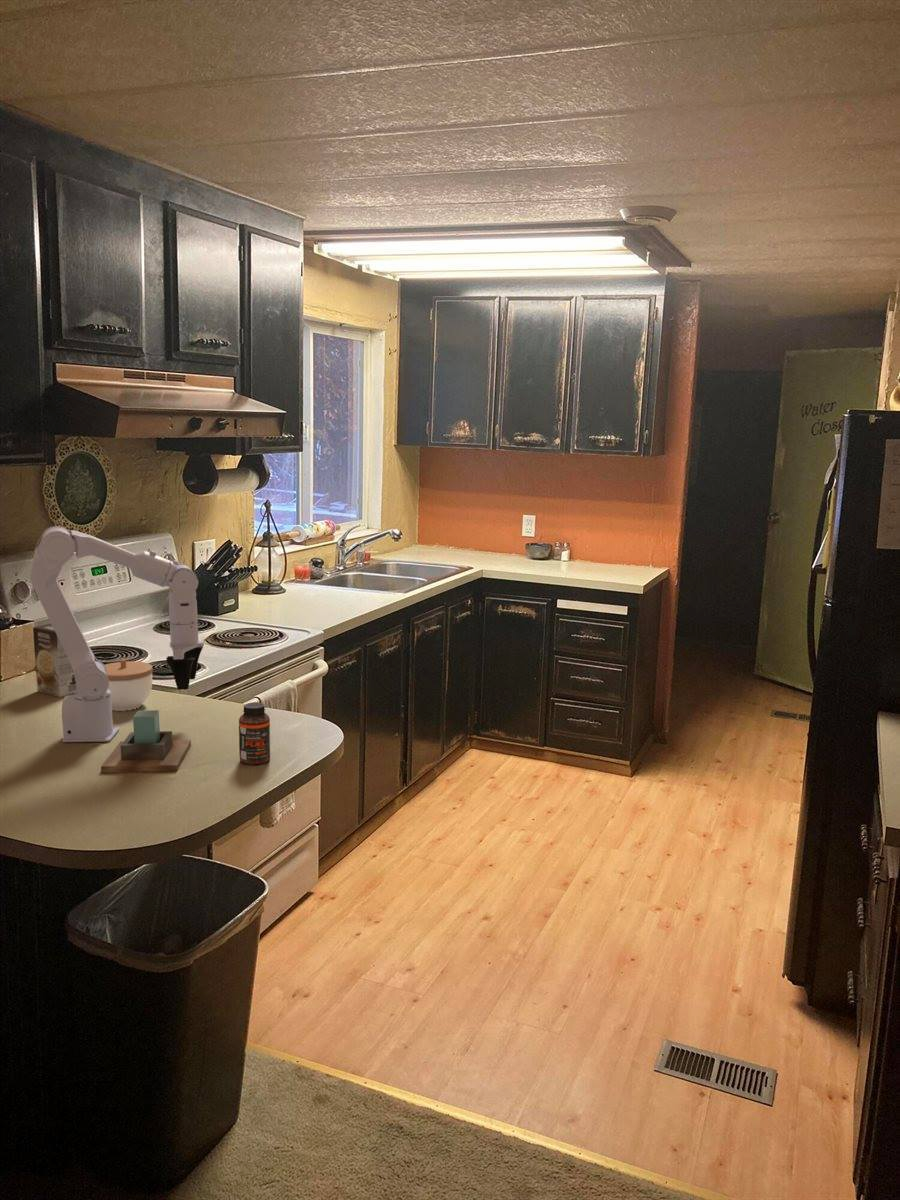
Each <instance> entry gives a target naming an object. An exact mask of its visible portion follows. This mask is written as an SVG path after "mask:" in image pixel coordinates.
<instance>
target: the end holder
mask: <svg viewBox="0 0 900 1200" xmlns="http://www.w3.org/2000/svg"><path fill="white" fill-rule="evenodd" d="M191 747H192V741H191V740H188V739H187V740H173V731H172V730H169V731H168V730H167V731H166V730H165V731H162V730H160V743H138V744H135V743H134V731H130V733H129V734H128V735H127V736H126V737H125V739H124V740H123V741H119V742H118V744H117V745H116V746H115V748H114V749H113V750H112V752H111V753H110V754H109V755H108V757H107V758H106V759H105V760H104V762H103V763H102V765H101V766H100V773H136V772H135V771H141V772H140V773H143V772H142V771H145V772H147V771H149V773H150V772H178V770H179V768H180V766H181V765H182V763H183V761H184V760H185V757H187V755H188V753H189V751H190V749H191ZM188 750H189V751H188ZM126 771H127V772H126ZM128 771H130V772H128ZM133 771H134V772H133Z"/></svg>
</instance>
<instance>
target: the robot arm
mask: <svg viewBox="0 0 900 1200" xmlns="http://www.w3.org/2000/svg"><path fill="white" fill-rule="evenodd" d="M33 553H34V555H33V559H32V564H31V569H30V574H29V581H30V583H31V585H32V587H33V589H34V591H35V593H36V596H37V598H38V600H39V602H40V604H41V606H42V607H43V610H44V611H45V614H46V616H47V618H48V620H49V622H50V624H52V626H53V628H54V630H55V632H56V634H57V636H58V638H59V640H60V642H61V644H62V646H63V648H64V650H65V652H66V654H67V656H68V658H69V661H70V664H71V666H72V669H73V671H74V673H75V679H76V688H77V690H76V692H74V693H73V694H69V695H66V696H64V698H63V701H62V704H61V719H62V734H63V735H62V736H63V737H62V738H63V739H62V742H63V743H86V742H87V743H90V742H92V743H93V742H95V743H97V742H99V743H100V742H110V741H111V740H112V738H114V736H115V735H116V734H117V733H118V731H120V727H116V726H115V727H114V722H113V710H112V703H111V691H110V690H109V689H108V687H109V679H108V677H107V675H106V674H107V673H106V668H105V666H104V665H105V664H104V663H103V662H102V661H100V660H99V659H98V658H97V657H96V656H95V655H94V651H92V649H91V647H90V646H89V643H88V642H87V640H86V638H85V635H84V633H83V631H82V629H81V627H80V625H79V622H78V621H77V619H76V617H75V614H74V613H73V610H72V608H71V606H70V604H69V601H68V600H67V598H66V596H65V593H64V592H63V589H62V588H61V586H60V584H59V582H58V577H59V576H60V575H59V574H60V573H61V571H62V568H63V567H64V565H65V564H66V563H68V562H69V561H70V560H71V559H72V557H73V556H74V554H75V555H76V558H77V559H80V558H84V557H90V556H93V557H96V558H100V559H102V560H105V561H108V562H111V563H113V564H117V565H120V566H123V567H125V568H128V569H130V572H131V574H132V576H133V577H135V578H137V579H140V580H143V581H145V582H147V583H148V582H149V583H151V584H153V585H155V586H157V587H158V586H159V587H161V588H165V587H169V590H168V591H169V592H168V593H169V601H168V614H169V615H168V616H169V635H170V642H169V647H170V648H171V650H172V655H169V656H167V657H166V659H165V660H166V663H167V665H168V666H169V668H170V669H171V672H172V673H173V674H172V675H173V678H174V681H175V685H176V688H177V690H188V689H189V686H190V680H195V678H196V675H197V669H198V663H199V659H200V655H201V653H202V650H203V648H204V646H205V641H203V640H199V625H198V624H199V622H198V601H197V591H196V590H197V589H198V586H199V580H198V577H197V575H196V573H195V572H194V571H193V570H192V568H190V567H189V566H187V565H186V564H184V563H182V562H181V563H179V561H178V560H175V559H173V560H169V559H168V558H164V557H163V556H158V555H157V552H156V551H155V550H152V549H149V551H147V550H142V551H140V552H137V553H134V552H132V551H129V550H127V549H126V548H122V547H120V546H117V545H115V544H112V543H110V542H108V541H105V540H103V539H101V538H98V537H95V536H94V535H91V534H88V533H84V532H81V531H78V530H72V529H70V530H69V529H67V528H65V527H63V526H59V525H58V526H57V525H56V526H55V525H54V526H51V527H48V528H46V529H45V530H44V531H43V533H42V534H41V536H40V537H39V539H38V541H37V543H36V545H35V548H34V552H33Z"/></svg>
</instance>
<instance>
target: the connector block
mask: <svg viewBox="0 0 900 1200" xmlns="http://www.w3.org/2000/svg"><path fill="white" fill-rule="evenodd" d="M159 711H160V710H158V709H157V710H151V709H150V710H149V709H148V710H137V711H136V712H135V714H134V715H133V716H132V723H133V724H132V725H133V732H134V743H135V744H138V743H160V731H161V730H160V712H159Z"/></svg>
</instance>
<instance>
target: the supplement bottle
mask: <svg viewBox="0 0 900 1200" xmlns="http://www.w3.org/2000/svg"><path fill="white" fill-rule="evenodd" d="M238 738H239V739H238V747H239V750H238V751H239V761H240V762H241V763H242V764H244V763H245V765H248V764H249V765H250V766H255V765H257V764H258V765H262V764H266V763H267V762H269V761H270V760H271V719H270V716H269V715H268V714H267V713H266V710H265V704H264V703H262V702H255V701H251V702H248V703H245V704H244V705H243V713H242V715H240V717H239V718H238ZM265 762H266V763H265ZM258 765H257V766H258Z"/></svg>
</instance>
